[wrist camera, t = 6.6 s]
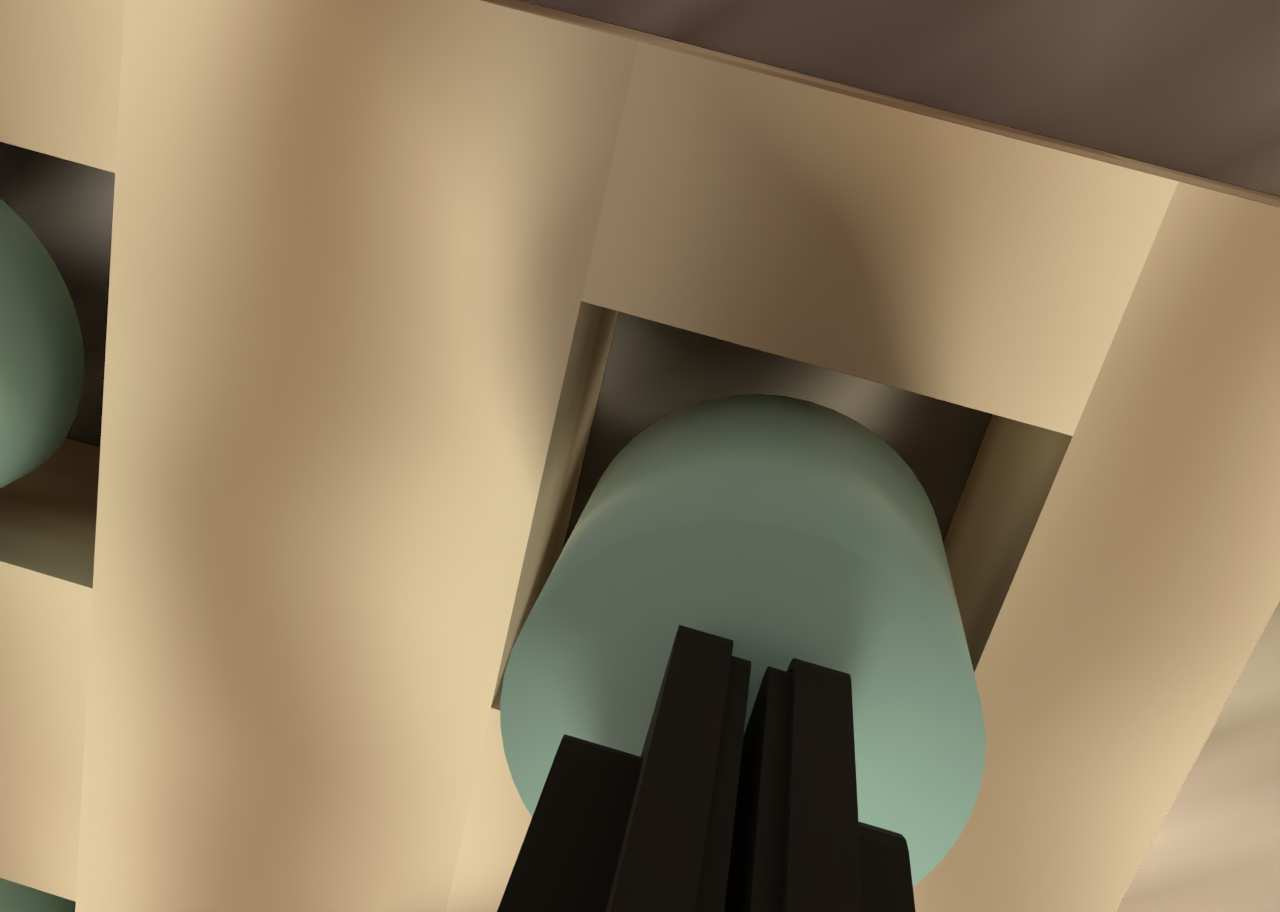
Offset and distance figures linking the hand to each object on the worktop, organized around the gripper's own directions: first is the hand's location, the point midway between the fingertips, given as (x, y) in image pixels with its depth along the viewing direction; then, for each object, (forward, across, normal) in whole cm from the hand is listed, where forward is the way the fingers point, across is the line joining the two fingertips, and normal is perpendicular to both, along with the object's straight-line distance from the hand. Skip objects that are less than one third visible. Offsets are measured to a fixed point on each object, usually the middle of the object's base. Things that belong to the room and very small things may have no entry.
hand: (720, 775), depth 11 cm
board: (+8, +6, +6) cm, 12 cm away
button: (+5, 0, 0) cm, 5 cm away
